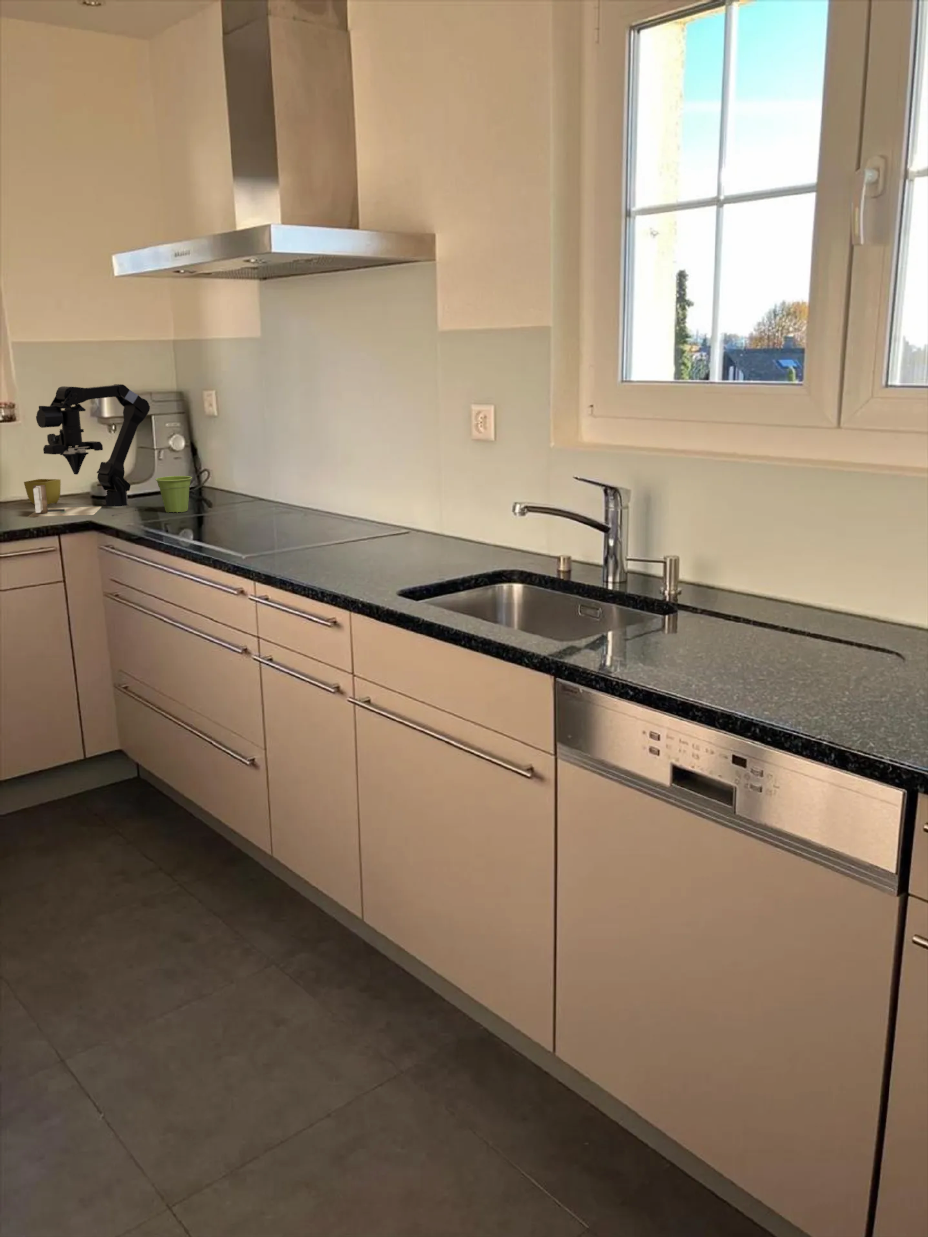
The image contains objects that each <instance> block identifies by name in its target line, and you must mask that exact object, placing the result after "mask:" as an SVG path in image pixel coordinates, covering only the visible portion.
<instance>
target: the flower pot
mask: <svg viewBox="0 0 928 1237" xmlns="http://www.w3.org/2000/svg"><path fill="white" fill-rule="evenodd" d="M23 484H24V488H25V491H26V496H27V497H28V499H29V501H30V503H31V504H33V505H35V500H34V491H33V486H35V485H45V488H46V498H47V505H49V504H57V503H58V502H59V500H60V496H61V487H62V486H61V485H62V483H61V479H59V478H58V479H56V478H54V479H53V478H50V479H49V478H37V479H33V480H28V481H23Z"/></svg>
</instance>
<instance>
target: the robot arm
mask: <svg viewBox="0 0 928 1237" xmlns="http://www.w3.org/2000/svg"><path fill="white" fill-rule="evenodd" d="M106 398H116V400H117V401H118V403H119V404H120V405H121V406H122V407H123V410H122V416H123V422H122V424H121V427H120V431H119V433H118V436H117V438H116V441H115V443H114V446H113V448H112V451H111V455H110V457H109V459H108V460H107V461H101V462H100V464H99V469H98V470H97V471H96V474H97V481H98V483H99V484H100V485H101V486H102V489H103V491H106V495H105V498H104V499H105V506H106V507H115V508H116V507H125V506H126V507H128V506H130V505H129V499H128V498H129V497H128V492H129V491H130V489H131V483H130V482H129V481H127V480H126V479H125V478H124V476H125V473H126V472H125V461H126V459H127V456H128V453H129V451H130V448H131V445H132V443H133V440H134V437H135V435H136V432H137V429H138V427H139V425H140V424H141V423H143V422H144V420H145V419H146V418H147V415H148V414H149V412H150V410H151V406H150V403H149V402H148V400H146V399H145V398H142V396H140V395H139V394H137V393H135V392H134V391H132V390H131V389H129V387H127V386H126V385H125V384H121V383H117V384H116V383H115V384H113V385H112V384H111V385H110V384H109V385H102V386H101V385H100V386H93V387H91V386H90V387H80V386H60V387H58V388H57V390H56V393H55V397H53V400H52V401H51V403H50V405H39V406H38V410H37V412H36V416H35V420H36V423H37V425H38V427H39V428H42V429H43V428H58V427H61V428H60V429H59V430H58V432H59V434H57V435H56V434H55V433H49V434H47V435H46V436H47V443H48V444H44V446H43V454H44V455H60V456H63V457H64V458H65V459H66V462H68V464H69V466H70V468H71V471H72V472H73V475H79V473H80V470H81V467H82V465H83V463H84V460H85V459H86V456H87V455H89V452H88V450H90V451H91V450H94V451H95V452H97V451H98V452H99V451H104V447H103V444H102V442H101V441H94V440H92V441H91V440H90V441H89V440H88V441H83V437H82V433H84V432H85V431H84V430H85V429H83V428H82V425H81V415H80V412H86V408H85V407H83V406H82V405H81V404H82V403H85V402H86V401H90V400H94V399H95V400H97V399H106Z"/></svg>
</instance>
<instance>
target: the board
mask: <svg viewBox="0 0 928 1237" xmlns="http://www.w3.org/2000/svg"><path fill="white" fill-rule="evenodd" d="M101 508H102V506H76V507H74V506H69V507H48V510H51V509H65V511H61V512H48V513H36V510H35V511H34V512H32V513H31V514H29V515H28V516H27V518H31V517H32V518H35V517H36V518H37V517H61V516H65V517H67V516H89V515H90V516H93V515H95V514H96V513H97V512H98V511H99V510H100V509H101Z"/></svg>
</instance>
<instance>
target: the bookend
mask: <svg viewBox="0 0 928 1237" xmlns="http://www.w3.org/2000/svg"><path fill="white" fill-rule="evenodd" d="M33 491H34V500H35V504H34V505H35V506H34V507H35V509H34V510H35V511H36V513H48V512H61V511H65V509H51V510H48V508H49V507H48V504H47V498H46V488H45V485H35V486H33Z"/></svg>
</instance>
